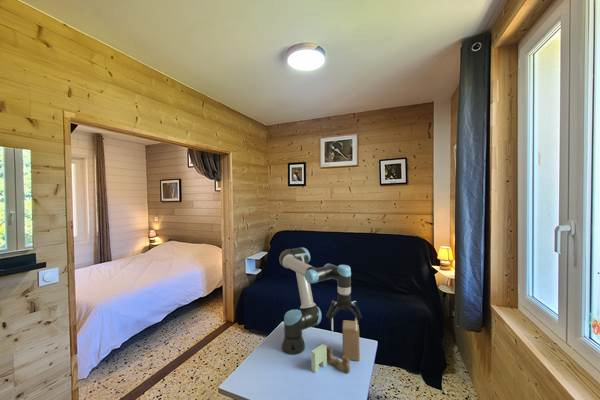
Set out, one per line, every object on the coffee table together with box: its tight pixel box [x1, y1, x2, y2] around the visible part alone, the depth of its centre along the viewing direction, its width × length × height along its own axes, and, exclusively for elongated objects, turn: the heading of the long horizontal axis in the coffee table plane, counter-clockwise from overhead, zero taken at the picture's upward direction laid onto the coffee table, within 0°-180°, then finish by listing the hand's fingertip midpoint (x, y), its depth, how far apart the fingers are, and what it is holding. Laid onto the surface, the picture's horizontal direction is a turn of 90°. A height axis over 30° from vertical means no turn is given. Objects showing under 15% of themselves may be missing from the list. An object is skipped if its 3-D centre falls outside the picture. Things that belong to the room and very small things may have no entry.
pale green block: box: [310, 343, 328, 374], centre depth 145 cm, size 10×3×11 cm, turn 133°
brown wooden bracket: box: [327, 346, 351, 375], centre depth 146 cm, size 16×2×8 cm, turn 43°
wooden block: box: [342, 319, 361, 362], centre depth 155 cm, size 10×10×20 cm
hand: (344, 329), depth 142 cm, fingers open, 13 cm apart
